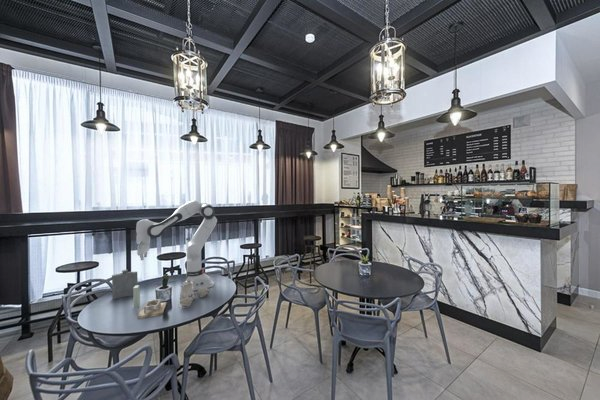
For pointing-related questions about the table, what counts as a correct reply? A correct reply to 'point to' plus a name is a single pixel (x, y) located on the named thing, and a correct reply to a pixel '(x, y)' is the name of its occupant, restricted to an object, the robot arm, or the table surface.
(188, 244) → the robot arm
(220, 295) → the table surface
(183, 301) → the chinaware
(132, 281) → the hip flask
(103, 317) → the table surface
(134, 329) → the table surface
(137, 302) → the slat
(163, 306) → the end cap stand
